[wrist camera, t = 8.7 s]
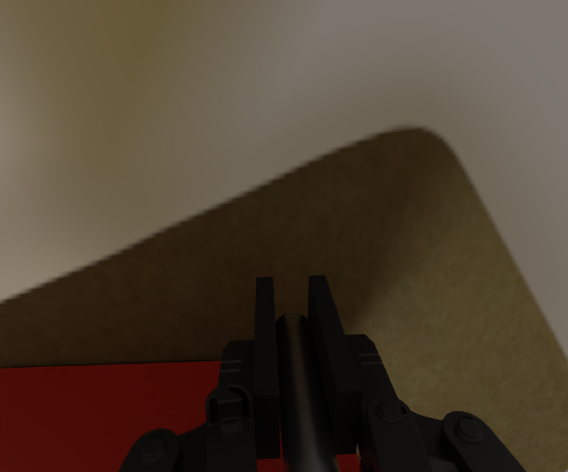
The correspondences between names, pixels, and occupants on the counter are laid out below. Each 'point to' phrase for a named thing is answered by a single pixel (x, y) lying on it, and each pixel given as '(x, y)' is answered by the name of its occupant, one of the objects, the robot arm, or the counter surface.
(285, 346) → the red cabinet door
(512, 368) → the counter surface
